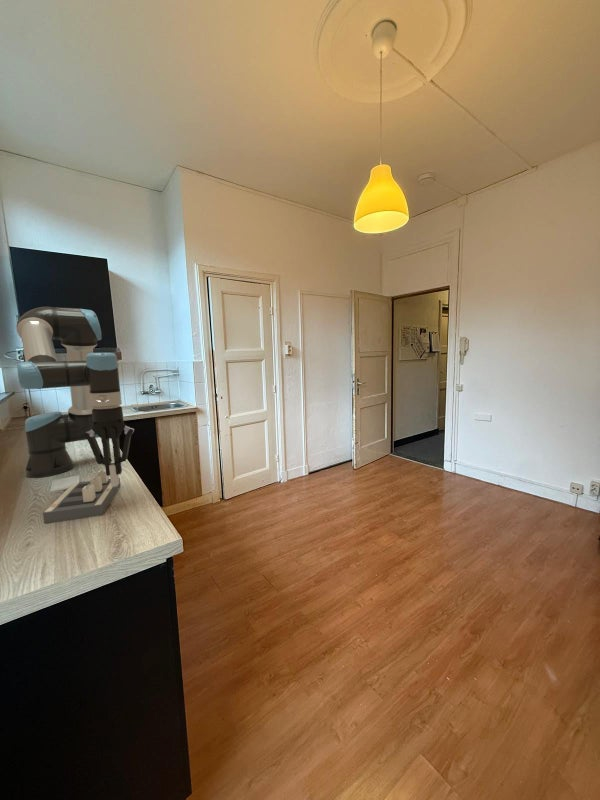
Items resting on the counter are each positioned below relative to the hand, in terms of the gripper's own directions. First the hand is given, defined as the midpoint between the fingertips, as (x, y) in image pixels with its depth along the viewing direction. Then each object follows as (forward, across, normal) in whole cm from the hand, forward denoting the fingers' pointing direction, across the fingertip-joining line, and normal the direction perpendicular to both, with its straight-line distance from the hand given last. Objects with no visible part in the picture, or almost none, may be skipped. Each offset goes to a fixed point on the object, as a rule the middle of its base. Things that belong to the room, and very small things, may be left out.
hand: (115, 484), depth 94 cm
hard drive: (+8, -22, +26) cm, 35 cm away
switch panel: (+7, -10, +7) cm, 14 cm away
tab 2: (+4, -7, +7) cm, 11 cm away
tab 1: (+4, -7, 0) cm, 8 cm away
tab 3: (+4, -7, +14) cm, 16 cm away
